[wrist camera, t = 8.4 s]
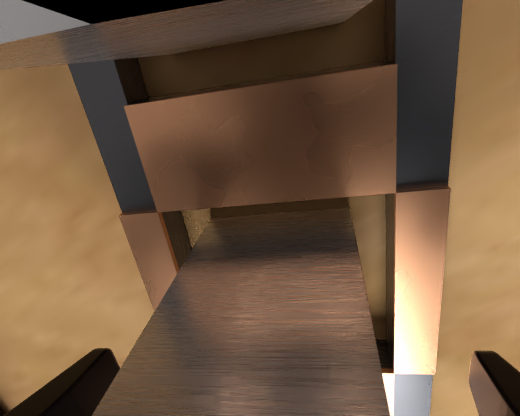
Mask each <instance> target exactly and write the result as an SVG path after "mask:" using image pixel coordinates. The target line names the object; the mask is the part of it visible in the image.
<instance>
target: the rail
mask: <svg viewBox="0 0 520 416" xmlns="http://www.w3.org/2000/svg"><path fill="white" fill-rule="evenodd" d="M462 2H463V0H385V34H386V61H380V62H373V63H367V64H361V65H354V66H348V67H342V68H335V69H329V70H322V71H316V72H310V73H303V74H297V75H291V76H284V77H278V78H272V79H265V80H259V81H253V82H246V83H240V84H234V85H227V86H221V87H215V88H208V89H202V90H195V91H189V92H183V93H176V94H170V95H164V96H157V97H151V98H148V95H147V91H146V88H145V84H144V81H143V77H142V74H141V70H140V67H139V63H138V60H137V58H127V59H116V60H105V61H94V62H83V63H72V64H68V66H69V68H70V71H71V74H72V77H73V79H74V82H75V85H76V88H77V90H78V93H79V96H80V98H81V101H82V104H83V107H84V109H85V112H86V115H87V118H88V120H89V123H90V126H91V128H92V131H93V134H94V137H95V139H96V142H97V145H98V148H99V150H100V153H101V156H102V158H103V161H104V164H105V167H106V169H107V172H108V175H109V178H110V180H111V183H112V186H113V189H114V191H115V194H116V197H117V199H118V202H119V205H120V208H121V210H122V213H121V214H120V215H119V217H120V220H121V223H122V225H123V228H124V231H125V233H126V236H127V239H128V241H129V244H130V247H131V250H132V252H133V255H134V258H135V260H136V263H137V266H138V268H139V271H140V274H141V276H142V279H143V282H144V284H145V287H146V290H147V292H148V295H149V298H150V301H151V303H152V306H153V309H154V311H155V310H156V308H157V307H158V305H159V303H160V302H161V300H162V298H163V297H164V295H165V293H166V292H167V290H168V288H169V287H170V285H171V283H172V282H173V280H174V278H175V277H176V275H177V273H178V272H179V270H180V268H181V267H182V265H183V263H184V262H185V260H186V258H187V257H188V255H189V253H190V252H191V250H192V249H191V246H190V242H189V239H188V235H187V232H186V228H185V225H184V221H183V218H182V214H181V210H194V209H206V208H218V207H231V206H243V205H255V204H267V203H280V202H292V201H304V200H317V199H329V198H341V197H354V196H366V195H378V194H386V340H376V345H377V350H378V355H379V360H380V365H381V370H382V375H383V380H384V385H385V391H386V396H387V401H388V406H389V411H390V416H430V403H431V391H432V378H433V375H435V370H436V358H437V346H438V334H439V322H440V310H441V298H442V286H443V274H444V262H445V251H446V239H447V227H448V215H449V203H450V191H451V188H450V187H449V186H448V177H449V165H450V152H451V140H452V127H453V115H454V102H455V90H456V77H457V65H458V52H459V39H460V27H461V14H462Z"/></svg>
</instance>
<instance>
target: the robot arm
mask: <svg viewBox="0 0 520 416" xmlns="http://www.w3.org/2000/svg"><path fill="white" fill-rule="evenodd" d="M119 370H120V367H119V364H118V362H117V360H116V358H115V356H114V354H113V352H112V350H111V349H109V348H97V349H94V350H92V351H91V352H89V353H88V354H87V355H85V356H84V357H83V358H81V359H80V360H79V361H77V362H76V363H75V364H73V365H72V366H70V367H69V368H68V369H66V370H65V371H64V372H62V373H61V374H60V375H58V376H57V377H55V378H54V379H53V380H51V381H50V382H49V383H47V384H46V385H45V386H43V387H42V388H41V389H39V390H38V391H36V392H35V393H34V394H32V395H31V396H30V397H28V398H27V399H26V400H24V401H23V402H22V403H20V404H19V405H17V406H16V407H15V408H13V409H12V410H11V411H9V412H8V413H7V414H5V415H4V416H92V415H93V413H94V411H95V410H96V408H97V406H98V405H99V403H100V401H101V400H102V398H103V396H104V395H105V393H106V391H107V390H108V388H109V386H110V385H111V383H112V381H113V380H114V378H115V376H116V375H117V373H118V371H119ZM469 384H470V388H471V391H472V395H473V398H474V401H475V404H476V407H477V410H478V413H479V416H520V372H519V371H518V370H517V369H515V368H514V367H513V366H512V365H511V364H509V363H508V362H507V361H506V360H505V359H503V358H502V357H501V356H500V355H499V354H497V353H496V352H493V351H474V352H473V353H472V356H471V363H470V370H469ZM0 416H3V415H2V413H1V412H0Z"/></svg>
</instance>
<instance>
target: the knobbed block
mask: <svg viewBox="0 0 520 416" xmlns="http://www.w3.org/2000/svg"><path fill="white" fill-rule="evenodd" d="M92 416H390V411H389V406H388V401H387V396H386V391H385V385H384V380H383V375H382V370H381V365H380V360H379V355H378V350H377V345H376V339H375V334H374V329H373V324H372V319H371V314H370V309H369V304H368V299H367V293H366V288H365V283H364V278H363V273H362V268H361V263H360V258H359V252H358V247H357V242H356V237H355V232H354V227H353V222H352V217H351V212H350V207H348V208H335V209H323V210H310V211H297V212H284V213H272V214H259V215H246V216H234V217H221V218H211V219H210V220H209V222H208V224H207V225H206V227H205V228H204V230H203V232H202V233H201V235H200V237H199V238H198V240H197V242H196V243H195V245H194V247H193V248H192V250H191V252H190V253H189V255H188V257H187V258H186V260H185V262H184V263H183V265H182V267H181V268H180V270H179V272H178V273H177V275H176V277H175V278H174V280H173V282H172V283H171V285H170V287H169V288H168V290H167V292H166V293H165V295H164V297H163V298H162V300H161V302H160V303H159V305H158V307H157V308H156V310H155V312H154V313H153V315H152V317H151V318H150V320H149V322H148V323H147V325H146V327H145V328H144V330H143V332H142V333H141V335H140V337H139V338H138V340H137V341H136V343H135V345H134V346H133V348H132V350H131V351H130V353H129V355H128V356H127V358H126V360H125V361H124V363H123V365H122V366H121V368H120V370H119V371H118V373H117V375H116V376H115V378H114V380H113V381H112V383H111V385H110V386H109V388H108V390H107V391H106V393H105V395H104V396H103V398H102V400H101V401H100V403H99V405H98V406H97V408H96V410H95V411H94V413H93V415H92Z"/></svg>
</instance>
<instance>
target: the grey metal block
mask: <svg viewBox="0 0 520 416" xmlns="http://www.w3.org/2000/svg"><path fill="white" fill-rule="evenodd" d="M371 1H373V0H226V1H220V2H214V3H209V4H203V5H197V6H192V7H186V8H180V9H175V10H169V11H163V12H161V8H160V4H159V0H0V70H6V69H17V68H28V67H39V66H50V65H61V64H72V63H83V62H94V61H105V60H116V59H127V58H138V57H149V56H160V55H171V54H177V53H182V52H188V51H193V50H198V49H204V48H209V47H215V46H220V45H226V44H231V43H236V42H242V41H247V40H253V39H258V38H264V37H269V36H274V35H280V34H285V33H291V32H296V31H302V30H307V29H312V28H318V27H323V26H329V25H334V24H339V23H343V22H344V21H346V20H347V19H348V18H350V17H351V16H352V15H354V14H355V13H356V12H358V11H359V10H361V9H362V8H363V7H365V6H366V5H367V4H369V3H370V2H371Z"/></svg>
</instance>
